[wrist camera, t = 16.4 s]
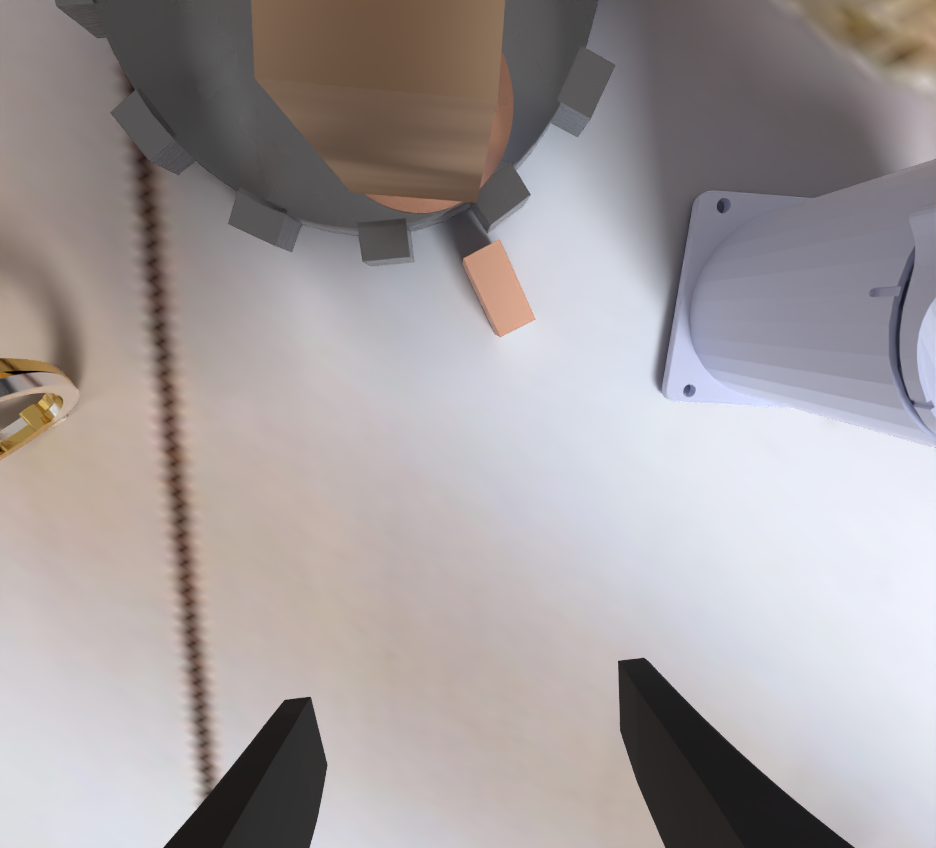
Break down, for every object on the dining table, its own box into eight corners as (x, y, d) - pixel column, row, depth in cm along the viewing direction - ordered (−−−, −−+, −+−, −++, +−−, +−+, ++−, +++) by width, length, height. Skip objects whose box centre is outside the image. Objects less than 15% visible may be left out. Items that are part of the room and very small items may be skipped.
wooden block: (488, 17, 13) (529, -329, 6) (476, 202, 14) (499, 94, 7) (351, 4, 13) (227, -370, 6) (351, 192, 14) (249, 71, 7)
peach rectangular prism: (462, 264, 17) (463, 258, 15) (494, 247, 17) (499, 239, 15) (495, 334, 18) (500, 337, 16) (526, 318, 18) (535, 319, 16)
